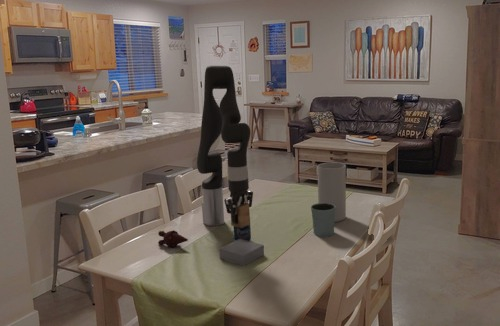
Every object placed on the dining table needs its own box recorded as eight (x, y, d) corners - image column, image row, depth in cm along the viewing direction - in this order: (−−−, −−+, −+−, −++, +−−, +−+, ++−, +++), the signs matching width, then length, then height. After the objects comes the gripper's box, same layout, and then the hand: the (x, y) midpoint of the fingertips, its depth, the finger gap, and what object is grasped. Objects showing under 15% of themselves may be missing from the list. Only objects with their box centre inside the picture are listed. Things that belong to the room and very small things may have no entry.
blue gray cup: (338, 230, 201) (338, 203, 199) (332, 239, 192) (331, 211, 190) (315, 228, 206) (315, 201, 203) (308, 236, 197) (307, 208, 194)
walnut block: (231, 225, 176) (230, 205, 174) (240, 221, 180) (239, 201, 178) (241, 228, 173) (240, 207, 171) (250, 224, 177) (249, 203, 175)
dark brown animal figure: (193, 230, 191) (164, 228, 198) (182, 231, 185) (152, 230, 192) (193, 247, 191) (164, 245, 198) (182, 249, 184) (152, 247, 192)
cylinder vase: (315, 221, 214) (314, 168, 209) (321, 212, 226) (321, 162, 220) (342, 223, 210) (342, 169, 204) (347, 214, 221) (348, 163, 216)
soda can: (238, 245, 190) (237, 217, 187) (231, 240, 196) (230, 213, 193) (254, 242, 193) (252, 214, 190) (246, 237, 199) (245, 210, 196)
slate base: (219, 258, 178) (219, 248, 177) (240, 248, 187) (240, 238, 186) (243, 265, 171) (243, 255, 170) (264, 254, 180) (263, 245, 179)
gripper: (243, 172, 180) (245, 214, 184) (217, 180, 170) (220, 225, 173) (258, 174, 175) (260, 217, 179) (232, 183, 165) (235, 228, 168)
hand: (240, 221), depth 176 cm, fingers closed on walnut block, 5 cm apart
